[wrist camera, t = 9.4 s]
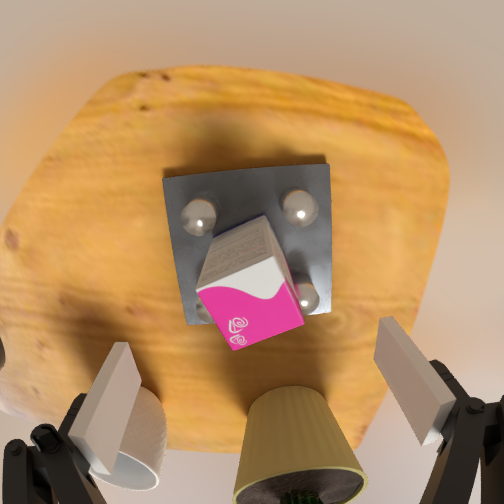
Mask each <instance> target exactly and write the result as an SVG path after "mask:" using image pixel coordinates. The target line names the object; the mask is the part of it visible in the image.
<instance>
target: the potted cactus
mask: <svg viewBox="0 0 504 504" xmlns="http://www.w3.org/2000/svg"><path fill="white" fill-rule="evenodd" d="M367 484H368V477H367V476H366V474H365V473H364V472H363V470H362V468H361V466H360V464H359V462H358V460H357V459H356V457H355V455H354V453H353V451H352V449H351V447H350V446H349V444H348V442H347V440H346V438H345V436H344V434H343V432H342V431H341V429H340V427H339V425H338V423H337V421H336V419H335V417H334V415H333V414H332V412H331V410H330V408H329V406H328V404H327V402H326V400H325V398H324V397H323V396H322V395H321V394H320V393H319V392H317V391H316V390H314V389H311V388H308V387H304V386H284V387H279V388H275V389H273V390H270V391H268V392H266V393H264V394H262V395H261V396H259V397H258V398H257V399H256V400H255V401H254V402H253V403H252V405H251V407H250V409H249V413H248V418H247V424H246V429H245V435H244V440H243V446H242V451H241V457H240V462H239V468H238V473H237V478H236V483H235V488H234V496H233V500H232V501H233V504H348V503H349V502H351V501H352V500H354V499H355V498H357V497H358V496H359V495H360V494H361V493H362V492H363V491H364V490H365V488H366V486H367Z"/></svg>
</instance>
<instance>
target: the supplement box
mask: <svg viewBox="0 0 504 504" xmlns="http://www.w3.org/2000/svg"><path fill="white" fill-rule="evenodd" d="M195 290H196V292H197V293H198V295H199V297H200V299H201V300H202V302H203V304H204V305H205V307H206V309H207V310H208V312H209V314H210V315H211V317H212V319H213V320H214V322H215V323H216V325H217V327H218V328H219V330H220V331H221V333H222V335H223V336H224V338H225V339H226V341H227V342H228V344H229V346H230V347H231V349H232V350H233V351H234V350H237V349H240V348H243V347H246V346H249V345H251V344H254V343H256V342H258V341H261V340H264V339H266V338H269V337H272V336H274V335H277V334H280V333H282V332H285V331H288V330H290V329H293V328H296V327H298V326H301V325H303V324H304V318H303V314H302V311H301V307H300V304H299V300H298V297H297V294H296V291H295V287H294V284H293V281H292V277H291V273H290V270H289V267H288V264H287V260H286V257H285V255H284V253H283V250H282V248H281V246H280V244H279V241H278V239H277V237H276V235H275V233H274V231H273V228H272V226H271V224H270V222H269V220H268V218H267V216H266V214H263V215H261V216H258V217H256V218H254V219H252V220H250V221H247V222H245V223H243V224H241V225H239V226H236V227H234V228H232V229H230V230H227V231H225V232H223V233H221V234H218V235H216V236H214V237H213V239H212V242H211V245H210V248H209V251H208V253H207V256H206V259H205V262H204V265H203V268H202V271H201V274H200V277H199V280H198V283H197V286H196V289H195Z"/></svg>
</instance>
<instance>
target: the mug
mask: <svg viewBox="0 0 504 504" xmlns="http://www.w3.org/2000/svg"><path fill="white" fill-rule="evenodd" d="M166 421H167V420H166V417H165V412H164V409H163V407H162V405H161V403H160V401H159V399H158V398H157V397H156V396H155V395H154V394H153V393H152V392H151V391H150V390H148V389H146V388H144V387H142V386H140V388H139V391H138V393H137V396H136V399H135V402H134V405H133V408H132V411H131V414H130V417H129V420H128V423H127V426H126V429H125V432H124V435H123V438H122V441H121V445H120V448H119V451H118V454H117V457H116V461H115V464H114V467H113V471H112V474H111V475H107V474H102V473H97V472H95V470H94V469H93V468H92V467H91V466H90V469H89V473H90V474H91V475H93V476H94V477H96V478H97V479H99V480H101V481H103V482H105V483H108V484H110V485H113V486H116V487H119V488H123V489H127V490H134V491H146V490H151V489H153V488H155V487H156V486H157V485H158V483H159V480H160V476H161V471H162V467H163V462H164V457H165V451H166V443H167V423H166Z"/></svg>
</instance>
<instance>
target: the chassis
mask: <svg viewBox="0 0 504 504" xmlns="http://www.w3.org/2000/svg"><path fill="white" fill-rule="evenodd" d="M162 181H163V188H164V196H165V203H166V210H167V217H168V224H169V230H170V237H171V243H172V249H173V255H174V260H175V266H176V272H177V277H178V282H179V288H180V293H181V298H182V303H183V308H184V313H185V318H186V322H187V325H196V324H215V322H214V320H213V319H212V317H211V315H210V314H209V312H208V310H207V309H206V307H205V305H204V304H203V302H202V300H201V299H200V297H199V295H198V293H197V292H196V290H195V289H196V286H197V283H198V280H199V277H200V274H201V271H202V268H203V265H204V262H205V259H206V256H207V253H208V251H209V248H210V245H211V242H212V239H213V237H214V236H216V235H218V234H221V233H223V232H225V231H227V230H230V229H232V228H234V227H236V226H239V225H241V224H243V223H245V222H247V221H250V220H252V219H254V218H256V217H258V216H261V215H263V214H266V216H267V218H268V220H269V222H270V224H271V226H272V228H273V231H274V233H275V235H276V237H277V239H278V241H279V244H280V246H281V248H282V250H283V253H284V255H285V257H286V260H287V264H288V267H289V270H290V273H291V277H292V281H293V284H294V287H295V291H296V294H297V297H298V300H299V304H300V307H301V311H302V314H303V316H305V315H312V314H321V313H329V312H331V287H332V220H331V187H330V165H329V164H328V163H321V164H300V165H283V166H269V167H256V168H245V169H234V170H224V171H214V172H205V173H197V174H189V175H181V176H173V177H166V178H163V179H162Z"/></svg>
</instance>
